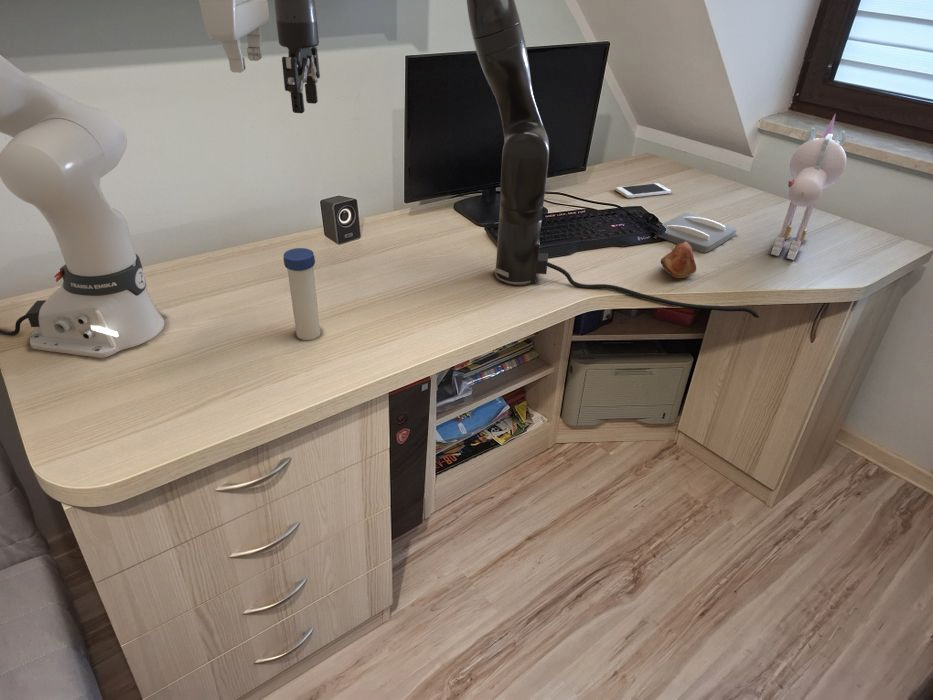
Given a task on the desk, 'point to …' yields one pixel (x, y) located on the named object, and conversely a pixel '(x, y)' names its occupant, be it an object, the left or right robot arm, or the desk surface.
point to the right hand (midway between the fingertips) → (305, 107)
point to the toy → (811, 180)
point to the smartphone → (642, 190)
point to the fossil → (680, 261)
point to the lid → (299, 259)
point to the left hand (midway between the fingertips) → (247, 65)
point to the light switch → (697, 232)
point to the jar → (304, 303)
